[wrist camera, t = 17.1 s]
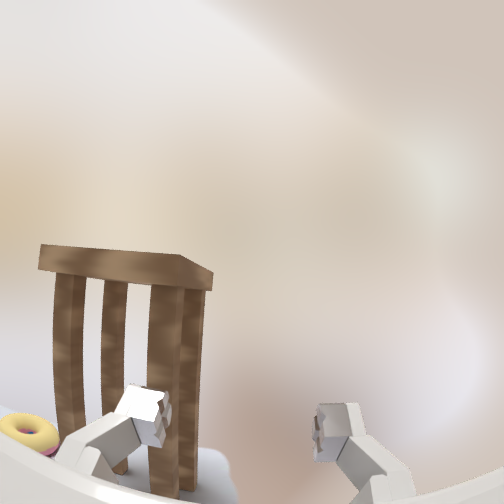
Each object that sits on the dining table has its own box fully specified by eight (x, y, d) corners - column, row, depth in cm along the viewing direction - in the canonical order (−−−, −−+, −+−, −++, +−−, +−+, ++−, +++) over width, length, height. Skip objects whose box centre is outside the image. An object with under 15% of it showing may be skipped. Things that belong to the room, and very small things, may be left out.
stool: (60, 511, 16) (41, 244, 20) (113, 459, 30) (114, 264, 34) (176, 551, 16) (179, 254, 20) (202, 479, 30) (213, 272, 34)
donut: (41, 437, 32) (-9, 436, 24) (39, 411, 34) (-12, 407, 26) (73, 458, 28) (14, 462, 20) (70, 428, 30) (10, 428, 22)
